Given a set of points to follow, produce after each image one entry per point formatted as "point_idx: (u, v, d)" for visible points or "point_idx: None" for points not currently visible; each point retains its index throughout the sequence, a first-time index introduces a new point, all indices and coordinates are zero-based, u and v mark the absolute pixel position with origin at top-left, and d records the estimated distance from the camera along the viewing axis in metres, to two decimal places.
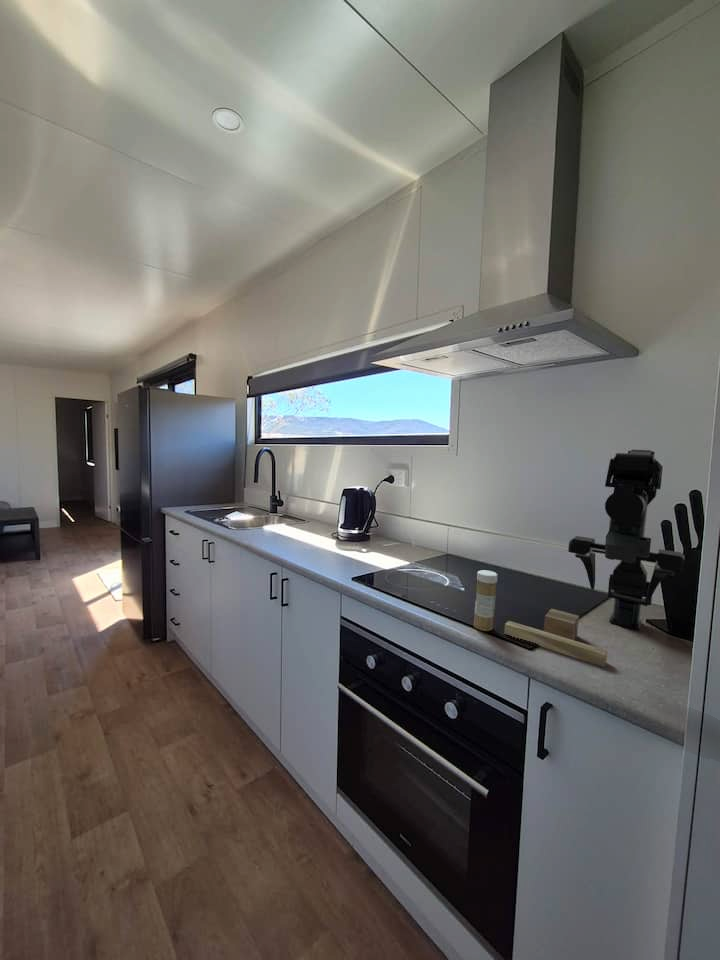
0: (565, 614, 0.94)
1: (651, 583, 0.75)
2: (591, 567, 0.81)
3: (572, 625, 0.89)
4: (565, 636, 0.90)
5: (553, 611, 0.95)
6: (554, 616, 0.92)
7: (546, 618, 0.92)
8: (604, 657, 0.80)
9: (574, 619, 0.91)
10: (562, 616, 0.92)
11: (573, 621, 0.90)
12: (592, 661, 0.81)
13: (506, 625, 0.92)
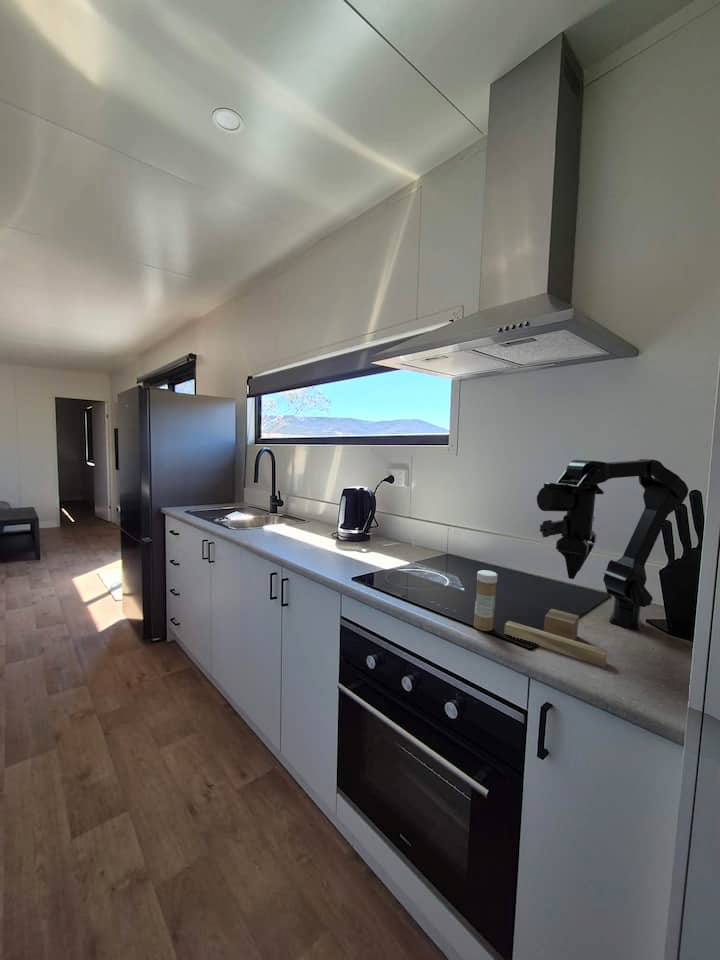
0: (565, 614, 0.94)
1: None
2: None
3: (572, 625, 0.89)
4: (565, 636, 0.90)
5: (553, 611, 0.95)
6: (554, 616, 0.92)
7: (546, 618, 0.92)
8: (604, 657, 0.80)
9: (574, 619, 0.91)
10: (562, 616, 0.92)
11: (573, 621, 0.90)
12: (592, 661, 0.81)
13: (506, 625, 0.92)
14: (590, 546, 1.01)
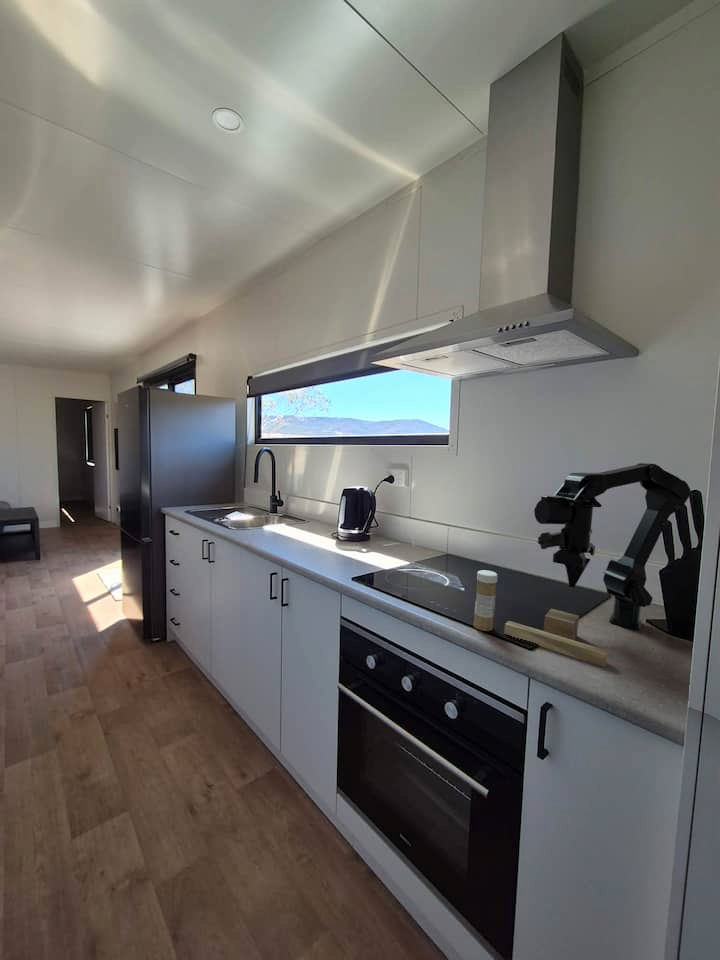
0: (565, 614, 0.94)
1: None
2: None
3: (572, 625, 0.89)
4: (565, 636, 0.90)
5: (553, 611, 0.95)
6: (554, 616, 0.92)
7: (546, 618, 0.92)
8: (604, 657, 0.80)
9: (574, 619, 0.91)
10: (562, 616, 0.92)
11: (573, 621, 0.90)
12: (592, 661, 0.81)
13: (506, 625, 0.92)
14: (586, 561, 0.98)
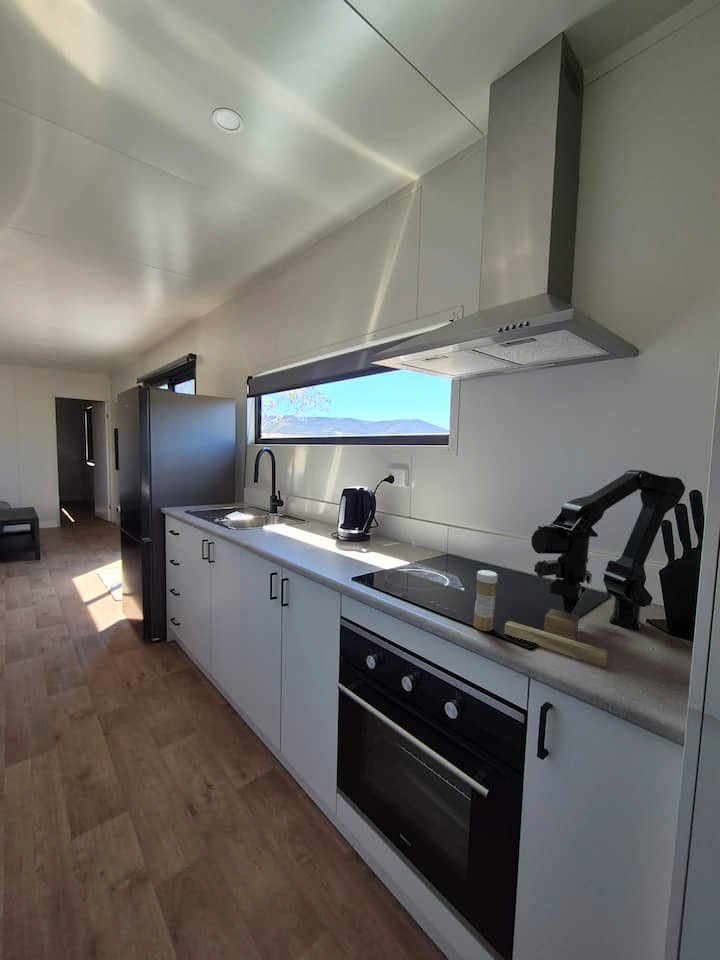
0: (565, 614, 0.94)
1: None
2: None
3: (572, 625, 0.89)
4: (565, 636, 0.90)
5: (553, 611, 0.95)
6: (554, 616, 0.92)
7: (546, 618, 0.92)
8: (604, 657, 0.80)
9: (574, 619, 0.91)
10: (562, 616, 0.92)
11: (573, 621, 0.90)
12: (592, 661, 0.81)
13: (506, 625, 0.92)
14: (582, 590, 0.98)
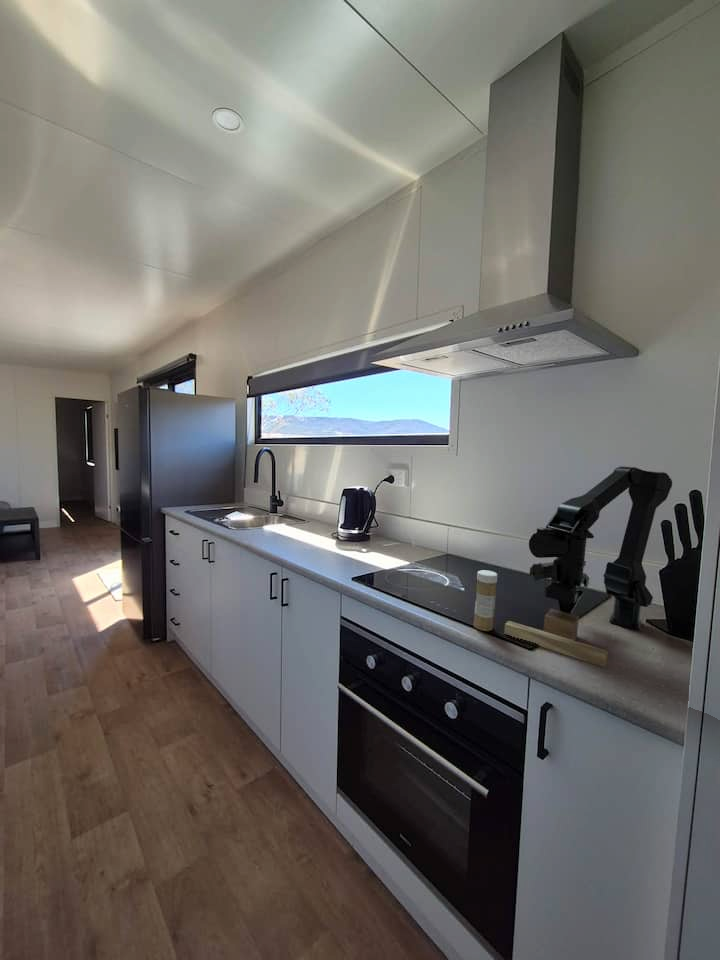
0: (565, 614, 0.94)
1: None
2: None
3: (572, 625, 0.88)
4: (565, 636, 0.89)
5: (553, 611, 0.95)
6: (554, 616, 0.92)
7: (546, 618, 0.92)
8: (604, 657, 0.80)
9: (574, 619, 0.91)
10: (561, 617, 0.92)
11: (573, 621, 0.90)
12: (592, 661, 0.81)
13: (506, 625, 0.92)
14: (578, 594, 0.95)
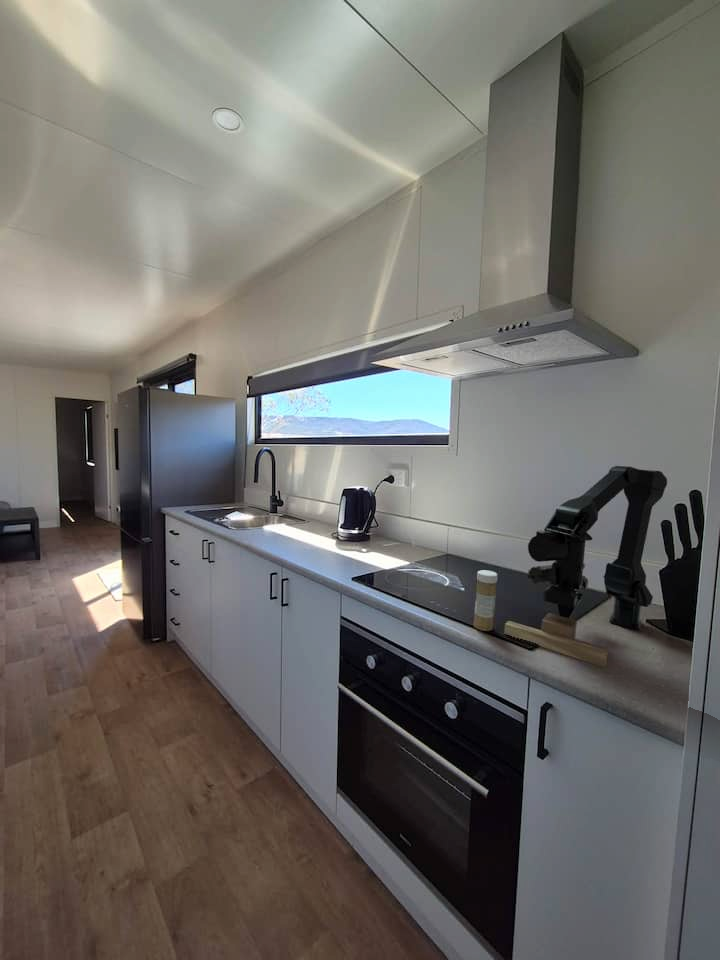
0: (562, 618, 0.91)
1: None
2: None
3: (570, 630, 0.86)
4: None
5: (550, 616, 0.93)
6: (551, 621, 0.90)
7: (543, 623, 0.89)
8: (604, 657, 0.80)
9: (572, 624, 0.88)
10: (559, 621, 0.90)
11: (571, 626, 0.87)
12: (592, 661, 0.81)
13: (506, 625, 0.92)
14: (578, 597, 0.93)
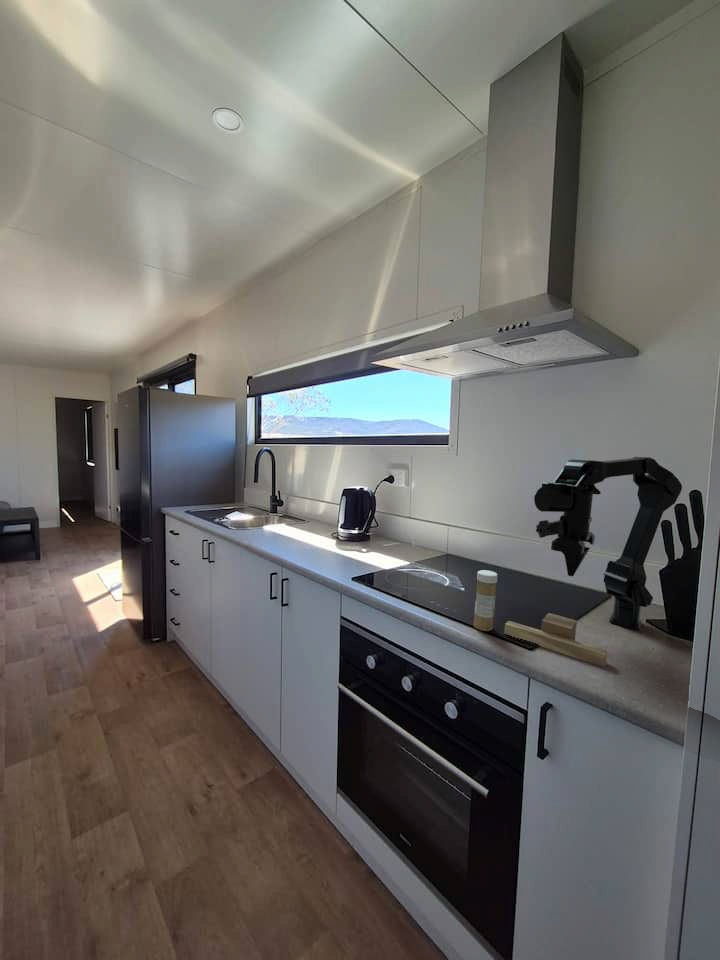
0: (562, 618, 0.91)
1: None
2: None
3: (570, 630, 0.86)
4: None
5: (550, 616, 0.93)
6: (551, 621, 0.90)
7: (543, 623, 0.90)
8: (604, 657, 0.80)
9: (572, 624, 0.88)
10: (559, 621, 0.90)
11: (571, 626, 0.87)
12: (592, 661, 0.81)
13: (506, 625, 0.92)
14: (585, 550, 0.96)
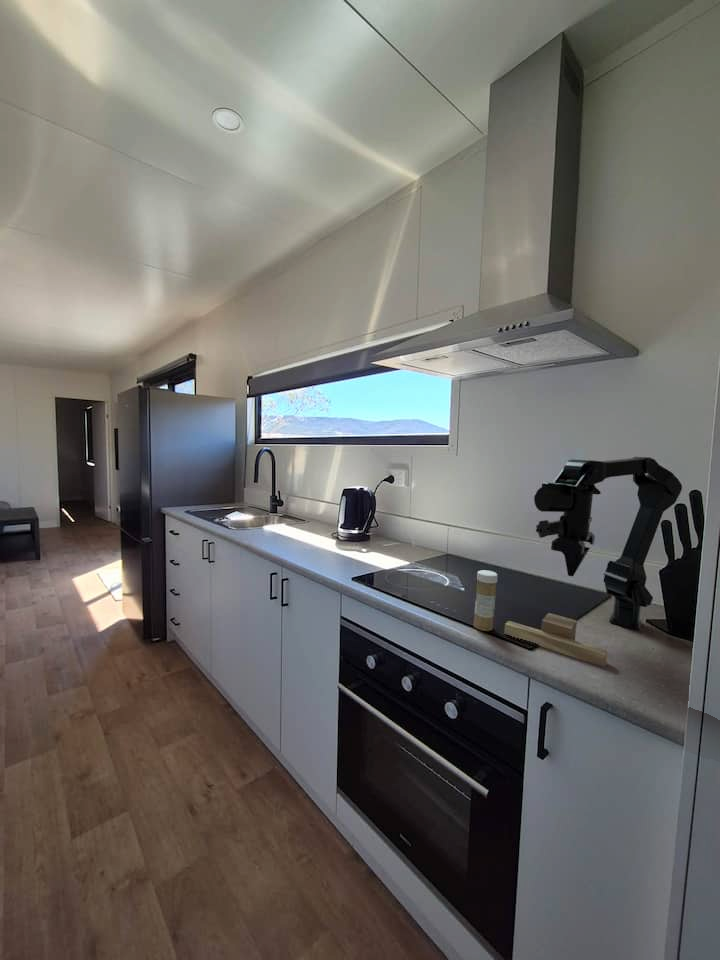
0: (562, 618, 0.91)
1: None
2: None
3: (570, 630, 0.86)
4: None
5: (550, 615, 0.93)
6: (551, 621, 0.90)
7: (543, 623, 0.89)
8: (604, 657, 0.80)
9: (572, 624, 0.88)
10: (559, 621, 0.90)
11: (571, 626, 0.87)
12: (592, 661, 0.81)
13: (506, 625, 0.92)
14: (585, 550, 0.96)
